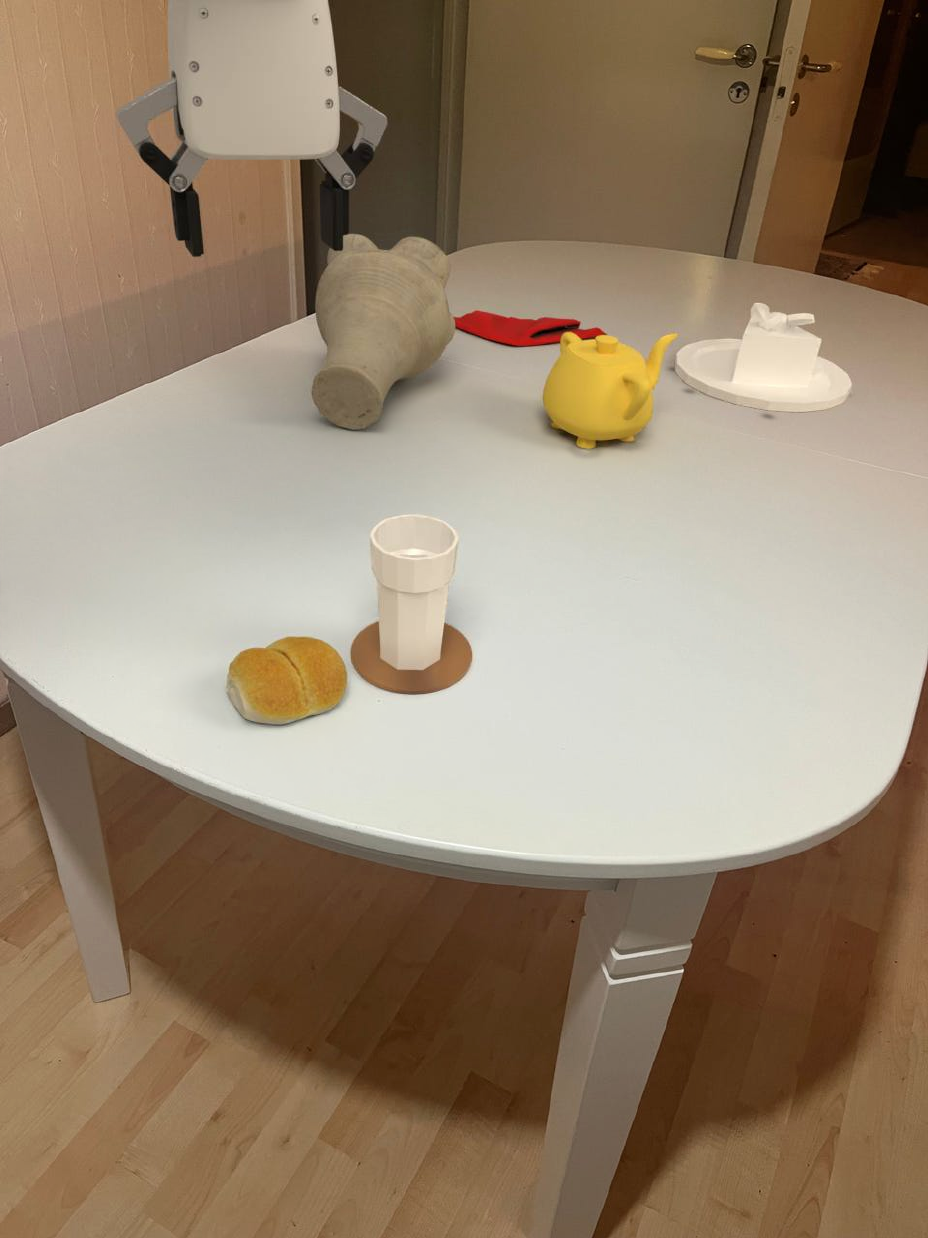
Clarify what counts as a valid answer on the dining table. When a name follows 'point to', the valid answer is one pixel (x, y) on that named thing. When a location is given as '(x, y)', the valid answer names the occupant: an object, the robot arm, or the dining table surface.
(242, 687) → the bread roll
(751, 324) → the dish
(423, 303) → the vase
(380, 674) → the coaster
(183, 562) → the dining table surface
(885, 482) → the dining table surface
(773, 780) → the dining table surface
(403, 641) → the cup
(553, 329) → the cloth
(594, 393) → the teapot
